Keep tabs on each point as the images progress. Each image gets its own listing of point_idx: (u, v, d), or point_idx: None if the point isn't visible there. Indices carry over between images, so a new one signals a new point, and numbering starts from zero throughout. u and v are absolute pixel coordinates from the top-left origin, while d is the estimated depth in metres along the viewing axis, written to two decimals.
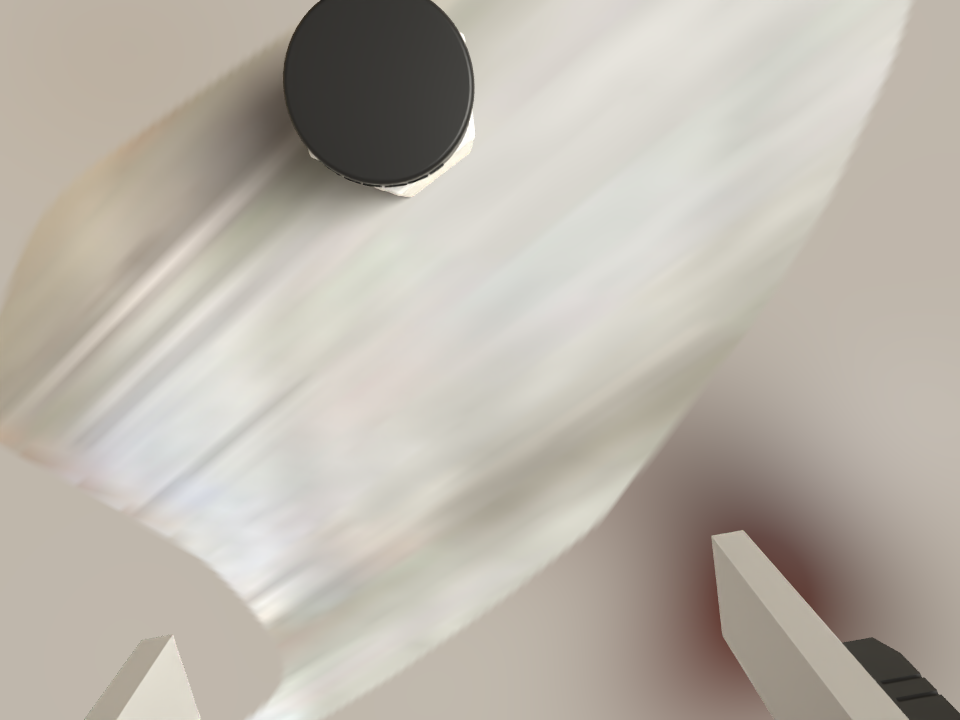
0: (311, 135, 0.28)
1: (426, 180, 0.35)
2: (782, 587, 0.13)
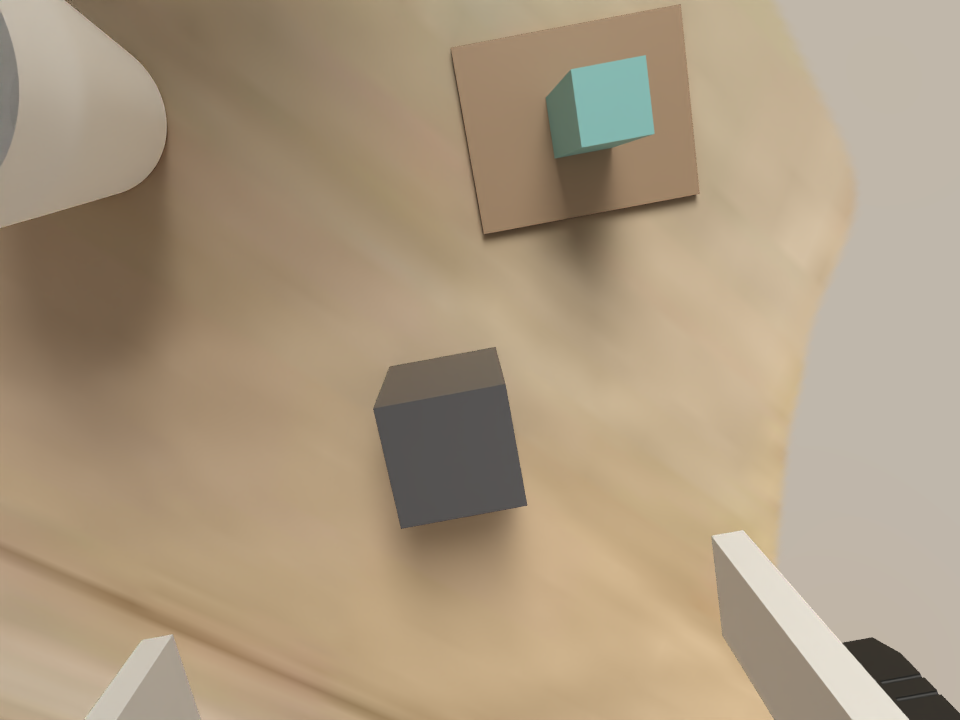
0: None
1: None
2: (782, 587, 0.13)
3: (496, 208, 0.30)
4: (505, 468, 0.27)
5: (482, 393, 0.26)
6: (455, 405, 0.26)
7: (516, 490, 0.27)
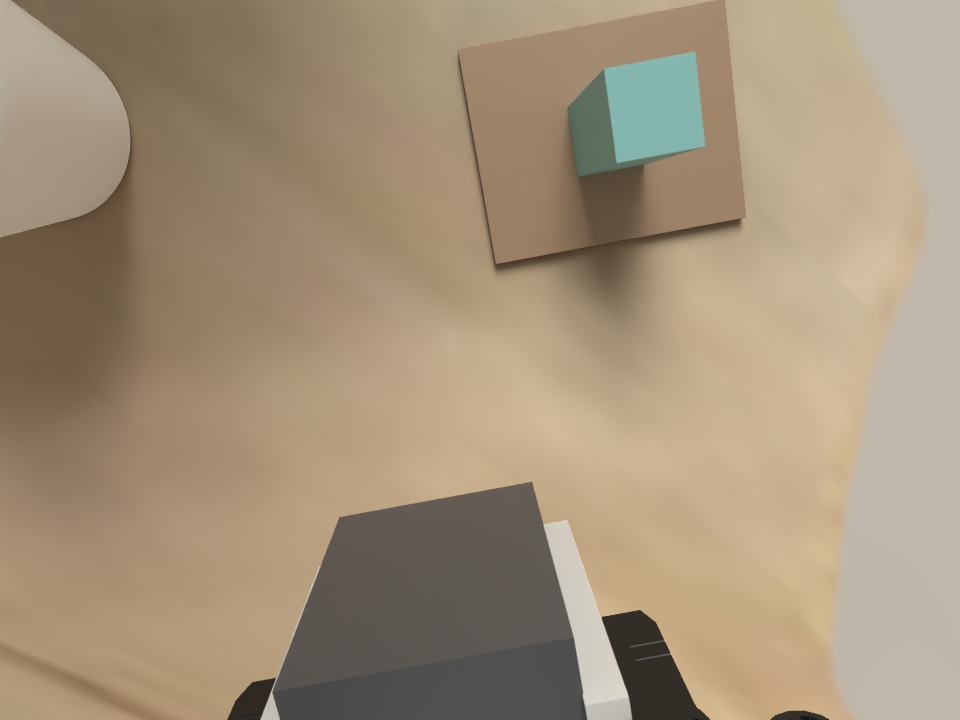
0: None
1: None
2: (575, 568, 0.15)
3: (510, 234, 0.26)
4: None
5: (521, 657, 0.11)
6: (459, 683, 0.11)
7: None
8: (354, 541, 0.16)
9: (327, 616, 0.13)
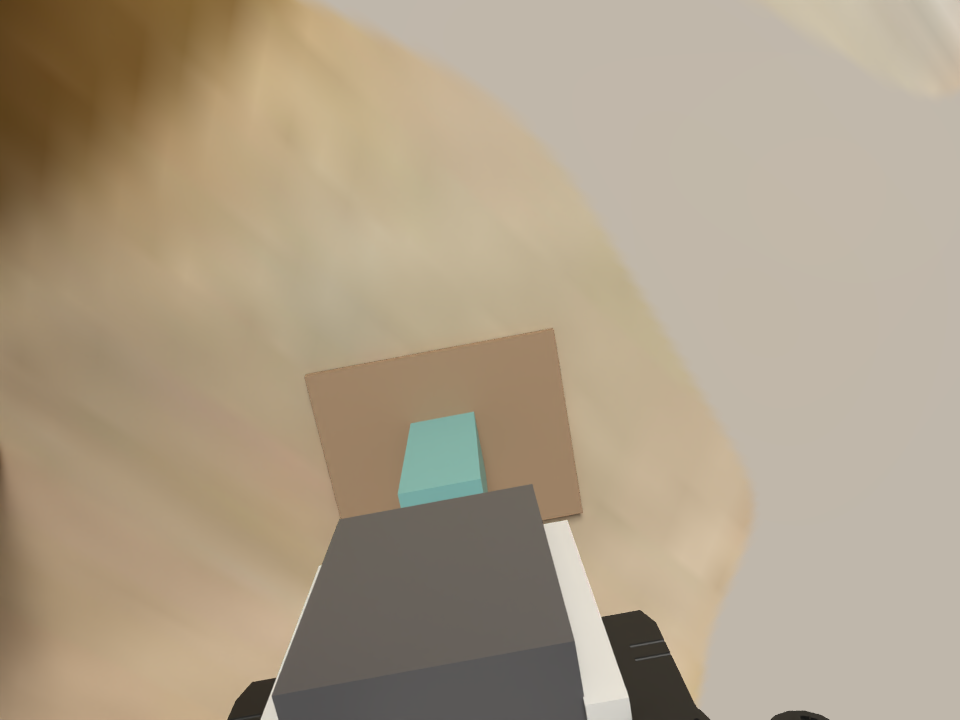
0: None
1: None
2: (575, 568, 0.15)
3: None
4: None
5: (521, 661, 0.11)
6: (459, 687, 0.11)
7: None
8: (354, 543, 0.16)
9: (327, 619, 0.13)
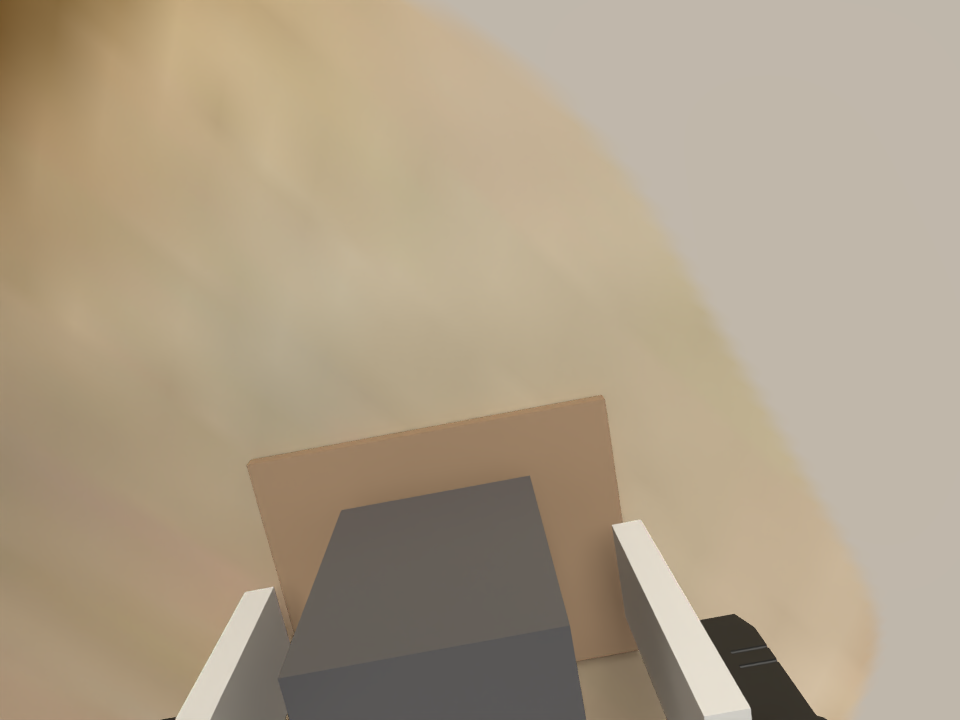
0: None
1: None
2: (660, 570, 0.15)
3: None
4: None
5: (519, 645, 0.12)
6: (459, 670, 0.12)
7: None
8: (356, 533, 0.17)
9: (330, 606, 0.14)
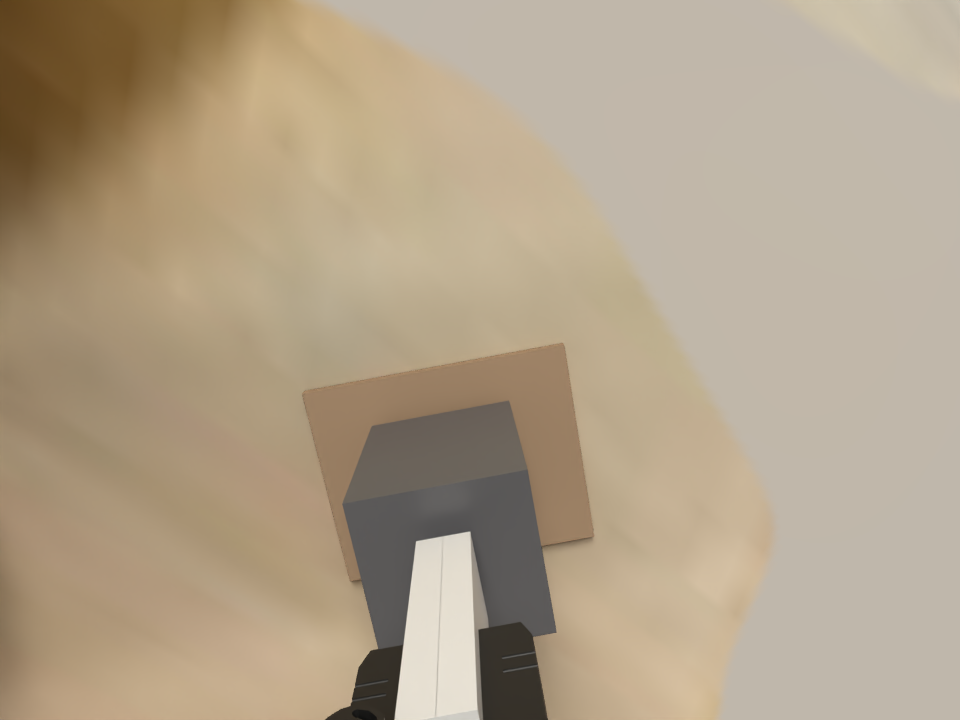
0: None
1: None
2: (464, 580, 0.16)
3: None
4: (527, 583, 0.19)
5: (495, 482, 0.18)
6: (457, 499, 0.18)
7: (542, 612, 0.19)
8: (384, 437, 0.23)
9: (371, 471, 0.20)
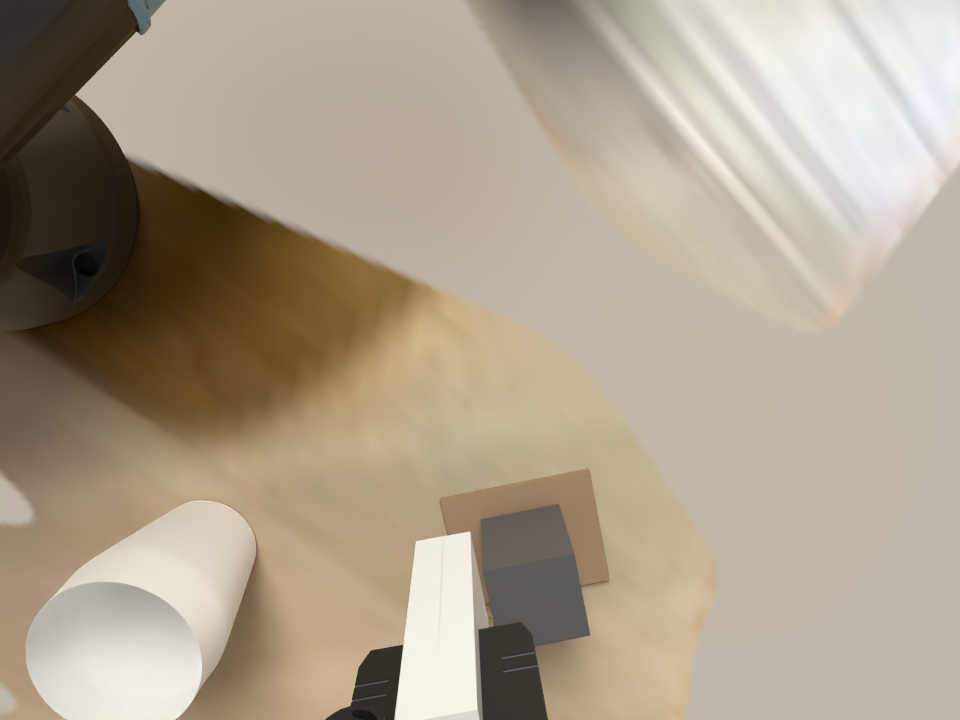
0: None
1: None
2: (463, 580, 0.16)
3: None
4: (574, 610, 0.38)
5: (558, 560, 0.37)
6: (539, 568, 0.37)
7: (582, 624, 0.38)
8: (491, 528, 0.42)
9: (491, 552, 0.39)
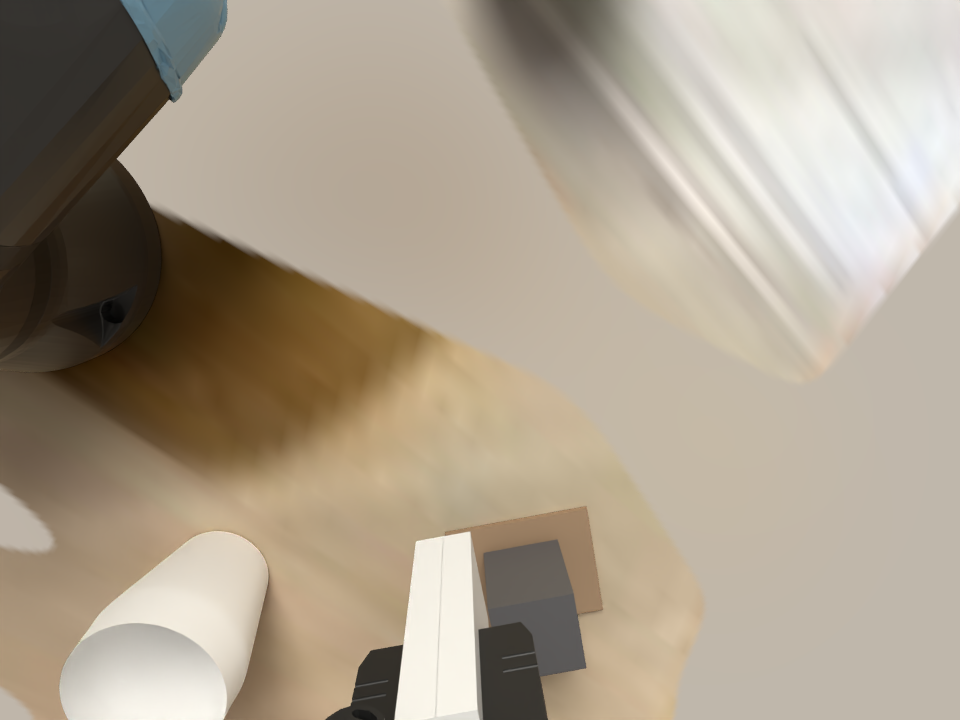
0: None
1: None
2: (464, 580, 0.16)
3: None
4: (572, 645, 0.40)
5: (558, 599, 0.40)
6: (541, 606, 0.40)
7: (579, 658, 0.41)
8: (493, 563, 0.45)
9: (495, 588, 0.42)
